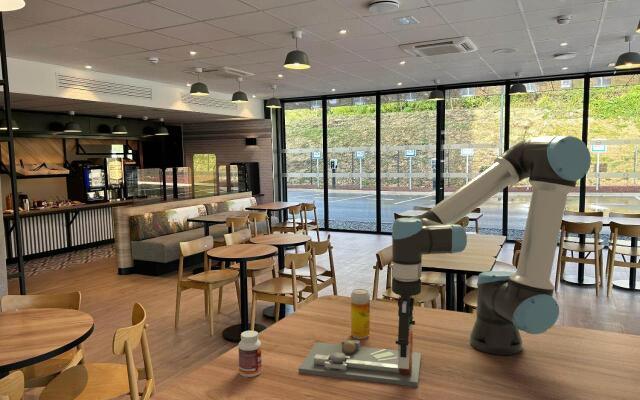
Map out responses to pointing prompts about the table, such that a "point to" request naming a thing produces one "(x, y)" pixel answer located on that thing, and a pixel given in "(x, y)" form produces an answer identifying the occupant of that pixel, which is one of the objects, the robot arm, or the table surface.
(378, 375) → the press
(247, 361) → the pill bottle
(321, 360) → the lever
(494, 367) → the table surface
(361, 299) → the beer can
